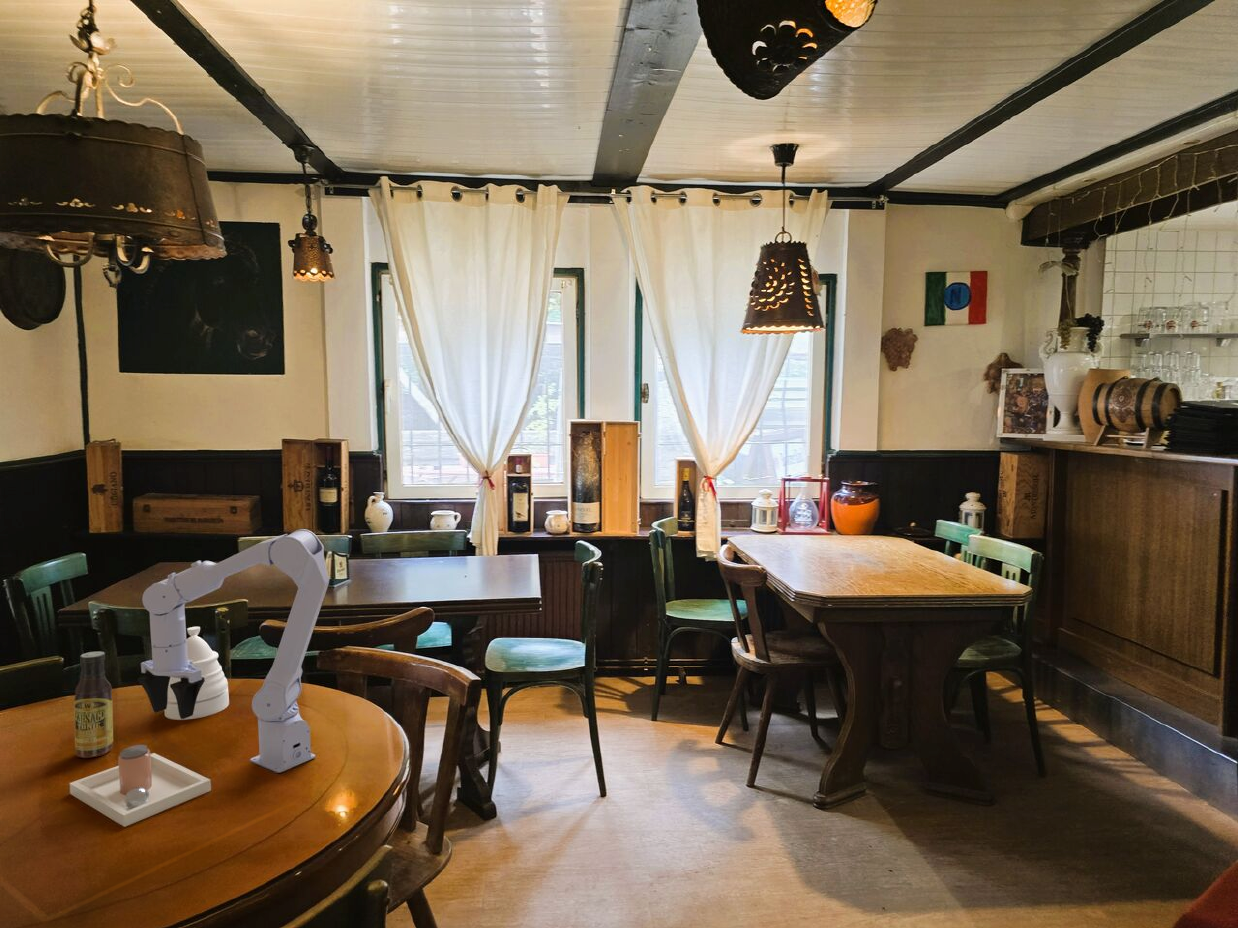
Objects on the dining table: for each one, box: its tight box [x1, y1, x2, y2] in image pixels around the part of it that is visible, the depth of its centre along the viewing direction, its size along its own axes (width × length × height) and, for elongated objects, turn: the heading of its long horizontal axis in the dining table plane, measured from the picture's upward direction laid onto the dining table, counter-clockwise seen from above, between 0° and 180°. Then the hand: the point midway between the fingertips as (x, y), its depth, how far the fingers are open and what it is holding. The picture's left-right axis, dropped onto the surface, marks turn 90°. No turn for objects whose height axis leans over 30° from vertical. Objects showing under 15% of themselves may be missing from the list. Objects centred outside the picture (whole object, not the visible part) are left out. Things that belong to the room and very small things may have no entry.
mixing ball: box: [125, 787, 149, 809], centre depth 130 cm, size 4×4×4 cm
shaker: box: [117, 744, 152, 795], centre depth 137 cm, size 5×5×7 cm
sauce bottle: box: [73, 651, 114, 759], centre depth 153 cm, size 6×6×20 cm
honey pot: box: [163, 626, 230, 721], centre depth 175 cm, size 13×13×18 cm
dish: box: [69, 752, 212, 828], centre depth 136 cm, size 20×14×2 cm
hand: (173, 713), depth 147 cm, fingers open, 7 cm apart
